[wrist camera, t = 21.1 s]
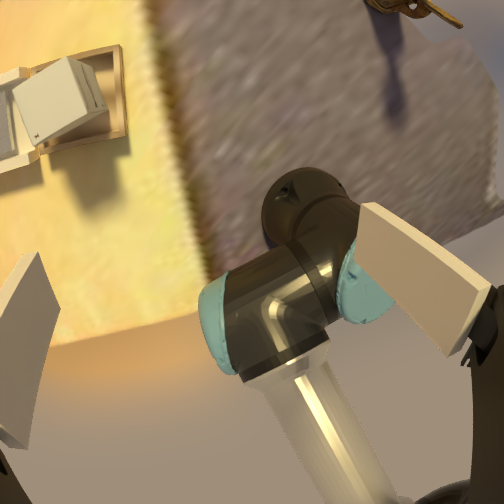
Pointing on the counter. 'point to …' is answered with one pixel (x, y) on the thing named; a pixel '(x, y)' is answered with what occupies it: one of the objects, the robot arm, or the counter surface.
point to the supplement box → (58, 99)
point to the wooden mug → (389, 3)
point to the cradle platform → (5, 125)
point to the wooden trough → (112, 89)
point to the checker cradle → (16, 124)
